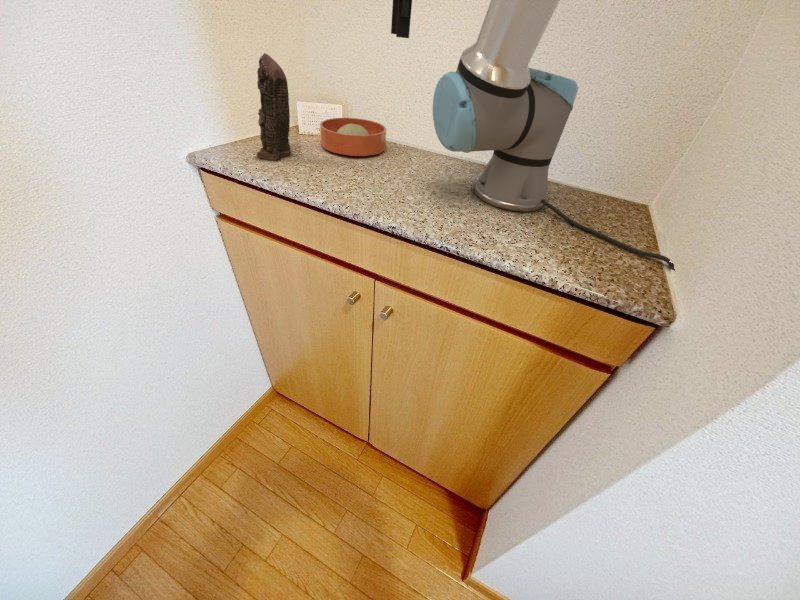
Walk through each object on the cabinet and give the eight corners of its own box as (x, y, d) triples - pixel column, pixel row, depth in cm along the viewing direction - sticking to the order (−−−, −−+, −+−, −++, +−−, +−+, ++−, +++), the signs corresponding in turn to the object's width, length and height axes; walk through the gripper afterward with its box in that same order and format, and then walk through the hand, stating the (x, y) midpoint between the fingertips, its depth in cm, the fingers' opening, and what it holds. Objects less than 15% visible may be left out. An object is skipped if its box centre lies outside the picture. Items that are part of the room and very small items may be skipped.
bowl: (397, 151, 89) (399, 129, 86) (353, 163, 79) (353, 139, 75) (353, 135, 97) (353, 115, 93) (307, 145, 86) (305, 122, 82)
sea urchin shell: (373, 133, 90) (371, 115, 82) (369, 160, 90) (366, 145, 82) (341, 129, 90) (335, 111, 82) (337, 156, 90) (331, 140, 82)
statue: (269, 149, 81) (252, 49, 67) (296, 153, 80) (285, 54, 67) (256, 158, 75) (235, 51, 62) (285, 162, 75) (270, 56, 62)
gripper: (385, -97, 69) (380, 31, 83) (395, -136, 51) (387, 37, 65) (419, -91, 70) (408, 34, 84) (441, -127, 52) (423, 41, 66)
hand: (399, 36), depth 74 cm, fingers open, 13 cm apart
